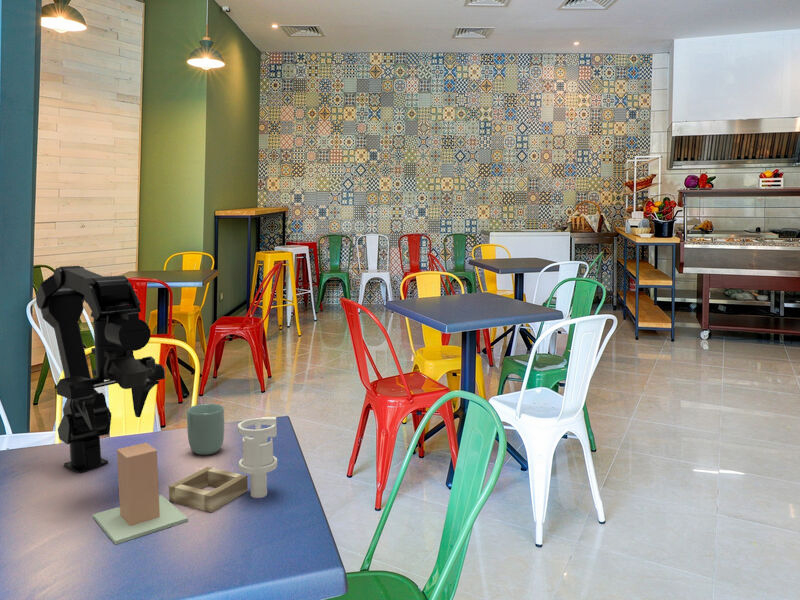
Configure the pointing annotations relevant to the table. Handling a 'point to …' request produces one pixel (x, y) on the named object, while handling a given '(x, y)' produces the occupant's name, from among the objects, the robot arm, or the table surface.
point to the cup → (205, 428)
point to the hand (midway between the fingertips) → (115, 423)
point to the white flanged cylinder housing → (258, 453)
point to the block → (138, 483)
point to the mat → (124, 532)
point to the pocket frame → (195, 497)
